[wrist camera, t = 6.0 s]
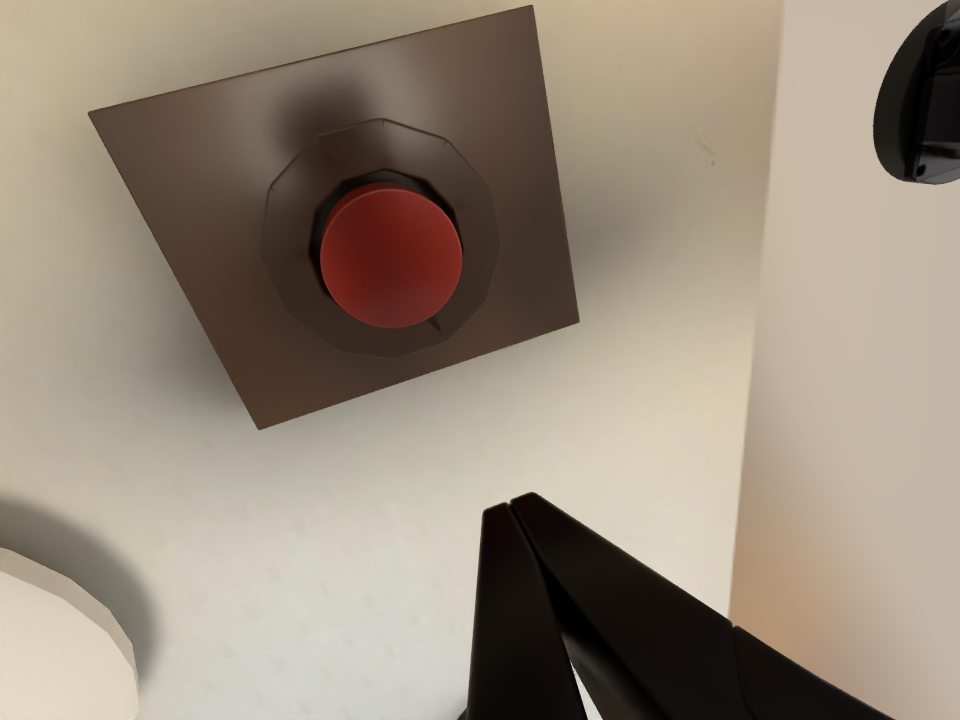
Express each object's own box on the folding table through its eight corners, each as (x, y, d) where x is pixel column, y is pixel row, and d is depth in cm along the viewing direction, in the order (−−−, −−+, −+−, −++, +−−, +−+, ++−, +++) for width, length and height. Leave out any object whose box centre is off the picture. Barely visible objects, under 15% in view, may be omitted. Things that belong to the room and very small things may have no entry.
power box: (513, 15, 16) (559, -11, 13) (562, 308, 20) (603, 340, 17) (111, 113, 14) (50, 110, 11) (263, 406, 19) (251, 462, 16)
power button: (430, 166, 14) (442, 171, 12) (461, 287, 16) (476, 305, 14) (300, 202, 13) (296, 212, 12) (347, 323, 15) (349, 346, 13)
